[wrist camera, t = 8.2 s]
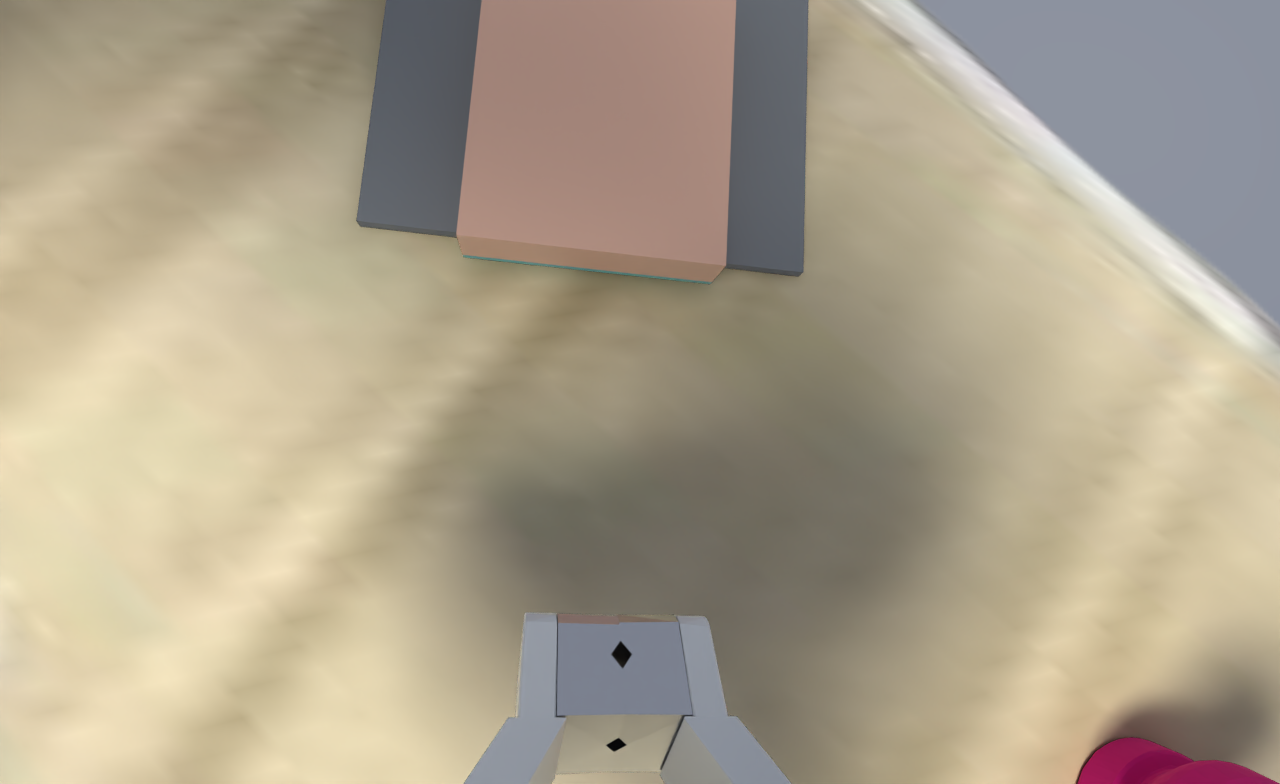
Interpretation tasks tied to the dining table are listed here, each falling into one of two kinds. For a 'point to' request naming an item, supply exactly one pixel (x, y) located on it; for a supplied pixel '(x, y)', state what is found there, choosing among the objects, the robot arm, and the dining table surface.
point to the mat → (440, 104)
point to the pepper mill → (1160, 767)
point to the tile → (601, 136)
